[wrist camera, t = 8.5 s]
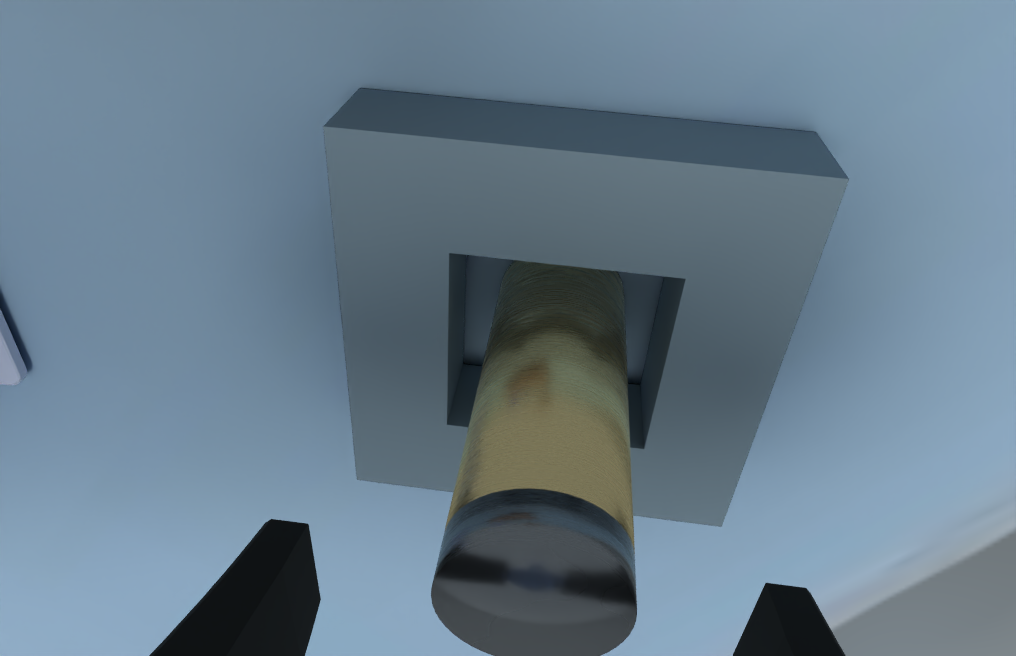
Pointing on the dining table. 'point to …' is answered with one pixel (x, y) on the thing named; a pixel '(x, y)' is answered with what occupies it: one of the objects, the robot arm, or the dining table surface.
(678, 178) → the block
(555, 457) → the spice jar
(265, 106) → the dining table surface
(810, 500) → the dining table surface
